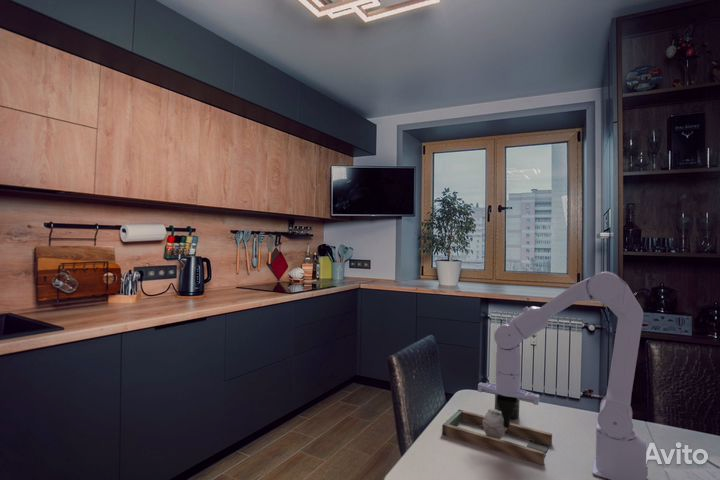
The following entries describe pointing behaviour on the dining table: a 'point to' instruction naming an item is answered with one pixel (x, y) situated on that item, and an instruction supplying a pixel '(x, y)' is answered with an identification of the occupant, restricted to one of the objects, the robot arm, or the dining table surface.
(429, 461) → the dining table surface
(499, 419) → the white head sculpture
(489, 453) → the dining table surface
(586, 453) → the dining table surface
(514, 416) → the supplement bottle
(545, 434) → the box
